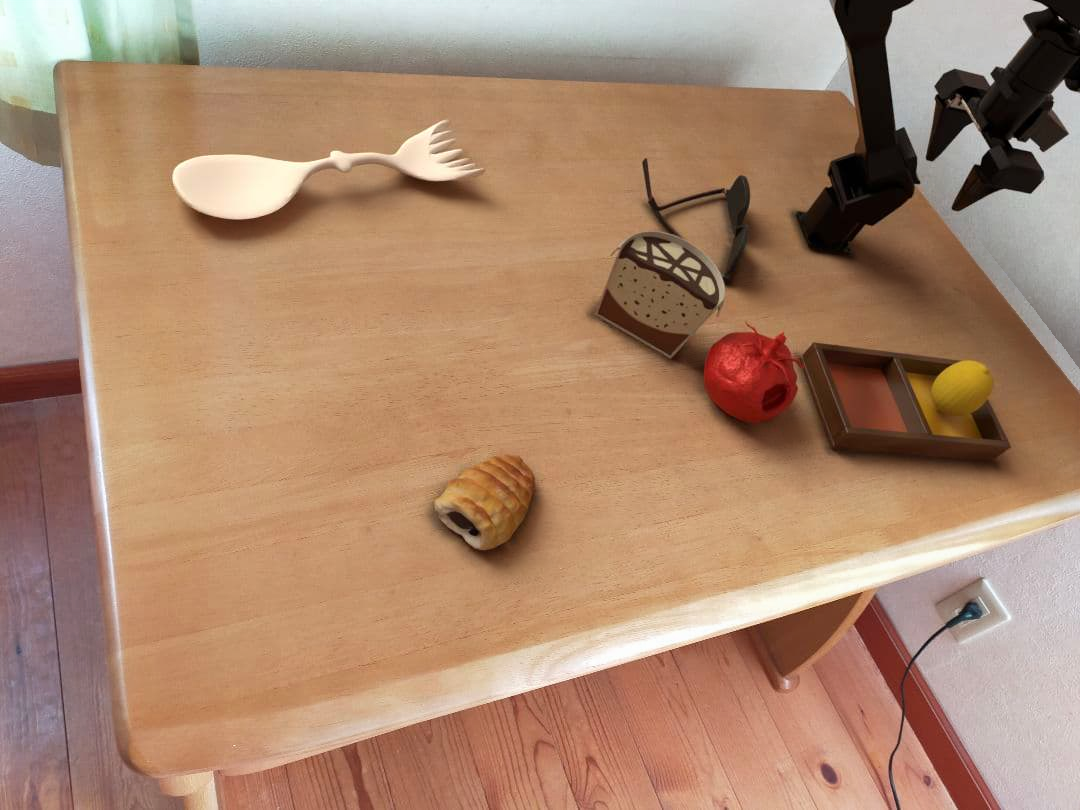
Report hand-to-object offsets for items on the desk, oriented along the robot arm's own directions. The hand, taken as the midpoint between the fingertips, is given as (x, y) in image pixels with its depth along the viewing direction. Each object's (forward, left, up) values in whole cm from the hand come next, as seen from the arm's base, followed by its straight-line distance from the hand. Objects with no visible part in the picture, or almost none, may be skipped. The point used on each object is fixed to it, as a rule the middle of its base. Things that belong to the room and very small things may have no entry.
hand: (941, 184), depth 109 cm
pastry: (-60, -42, -12) cm, 74 cm away
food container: (-40, -18, -12) cm, 45 cm away
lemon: (-4, -27, -11) cm, 29 cm away
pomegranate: (-31, -27, -12) cm, 42 cm away
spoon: (-73, -4, -12) cm, 74 cm away
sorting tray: (-10, -27, -12) cm, 31 cm away
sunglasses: (-31, -1, -12) cm, 33 cm away
